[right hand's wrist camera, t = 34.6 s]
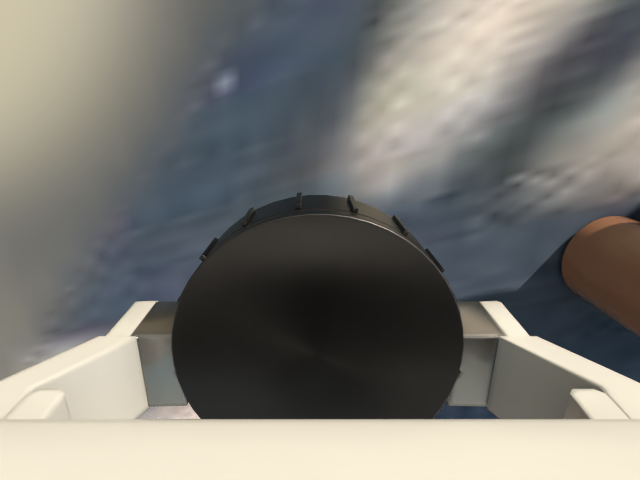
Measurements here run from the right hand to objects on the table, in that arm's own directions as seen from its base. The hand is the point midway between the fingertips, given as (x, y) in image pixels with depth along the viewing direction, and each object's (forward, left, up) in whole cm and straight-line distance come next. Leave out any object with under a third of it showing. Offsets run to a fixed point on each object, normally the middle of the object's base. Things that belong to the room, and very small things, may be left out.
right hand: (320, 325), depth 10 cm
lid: (0, 0, +2) cm, 2 cm away
